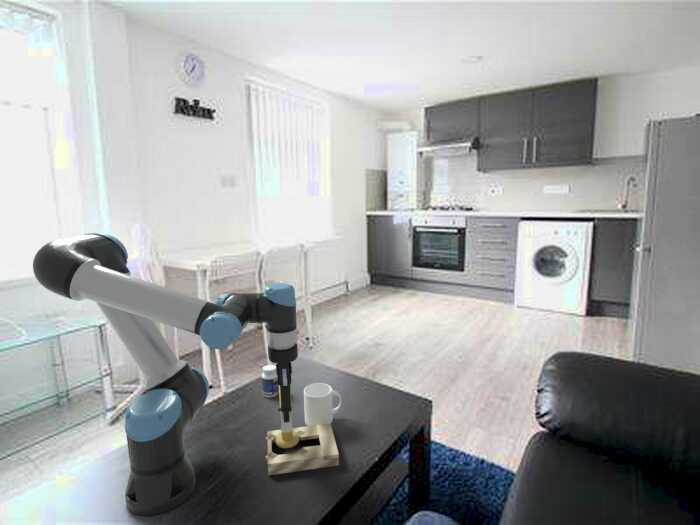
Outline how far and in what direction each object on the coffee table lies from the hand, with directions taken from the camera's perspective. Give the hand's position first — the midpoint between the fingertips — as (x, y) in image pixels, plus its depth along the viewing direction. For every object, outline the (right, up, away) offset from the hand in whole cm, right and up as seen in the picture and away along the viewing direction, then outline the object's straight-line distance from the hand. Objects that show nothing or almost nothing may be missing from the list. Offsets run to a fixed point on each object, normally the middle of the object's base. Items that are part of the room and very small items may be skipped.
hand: (286, 427), depth 107 cm
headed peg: (0, -4, +1) cm, 4 cm away
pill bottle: (-11, -2, +34) cm, 35 cm away
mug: (+9, -5, +17) cm, 20 cm away
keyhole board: (+4, -8, +2) cm, 9 cm away
